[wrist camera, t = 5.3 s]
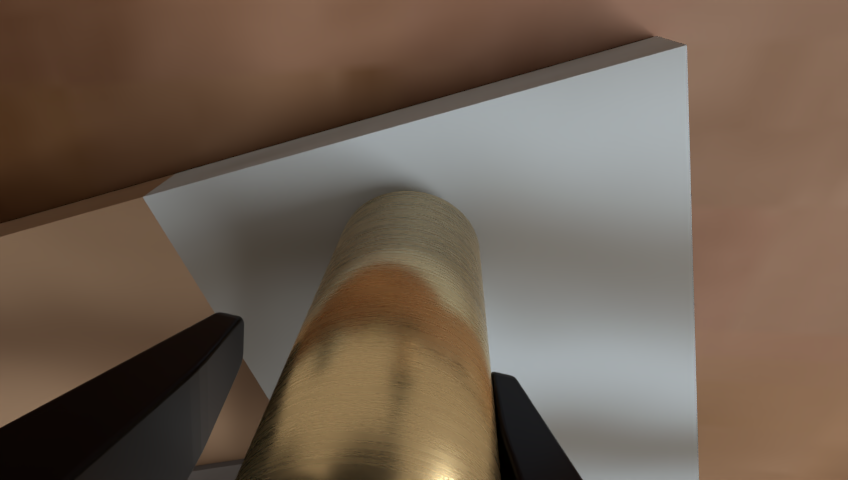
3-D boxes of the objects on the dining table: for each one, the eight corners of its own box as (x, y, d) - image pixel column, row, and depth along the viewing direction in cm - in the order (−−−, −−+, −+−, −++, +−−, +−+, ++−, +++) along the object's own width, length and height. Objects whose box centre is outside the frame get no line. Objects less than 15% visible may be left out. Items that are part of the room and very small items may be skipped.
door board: (686, 573, 20) (704, 620, 19) (197, 615, 25) (180, 656, 23) (656, 36, 10) (691, 46, 9) (-160, 269, 15) (-230, 302, 13)
